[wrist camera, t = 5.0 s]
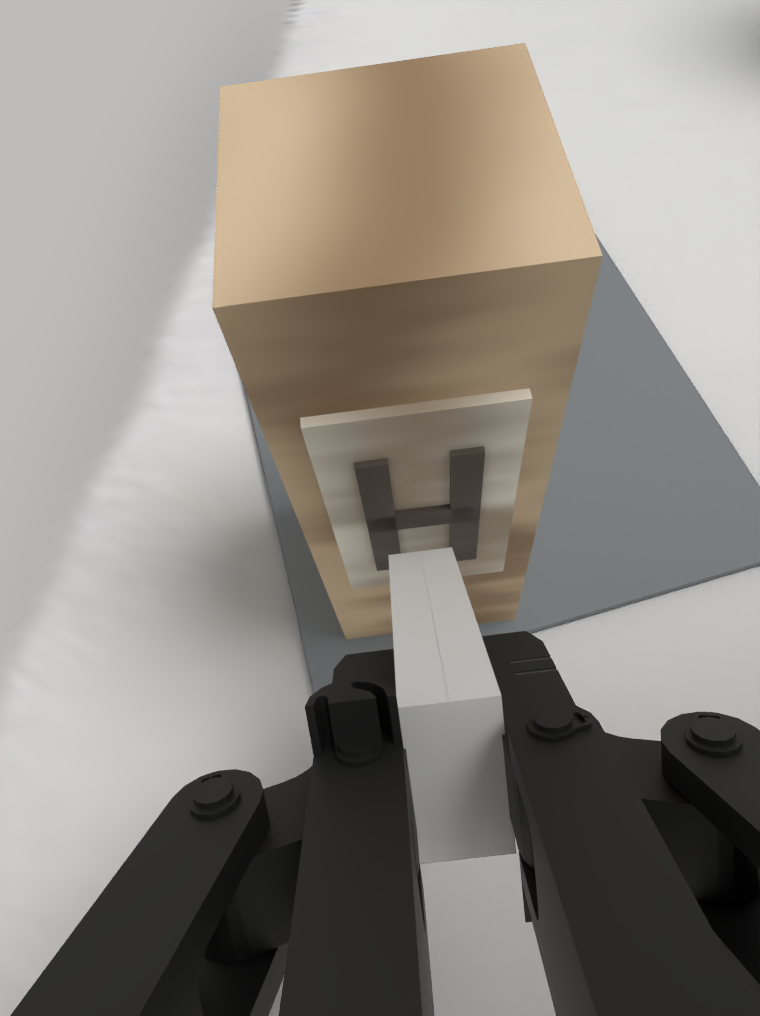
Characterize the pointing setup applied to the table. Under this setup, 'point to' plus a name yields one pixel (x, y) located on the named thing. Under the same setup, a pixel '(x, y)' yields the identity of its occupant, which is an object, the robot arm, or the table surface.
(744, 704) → the table surface
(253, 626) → the table surface
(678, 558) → the mat
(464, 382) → the letter block
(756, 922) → the robot arm
